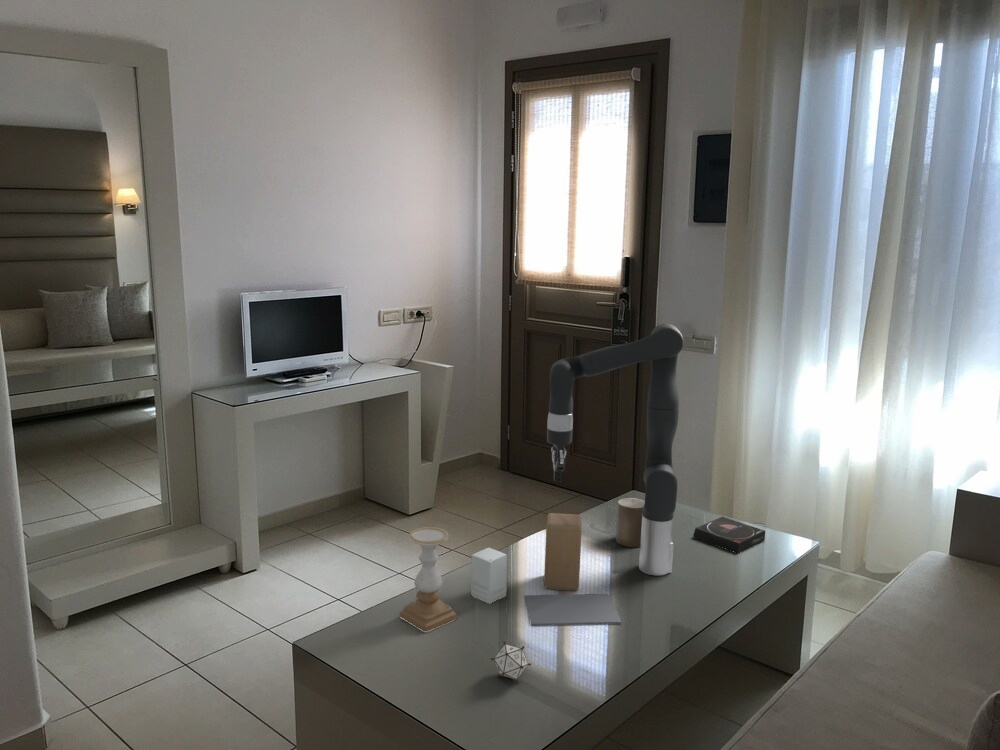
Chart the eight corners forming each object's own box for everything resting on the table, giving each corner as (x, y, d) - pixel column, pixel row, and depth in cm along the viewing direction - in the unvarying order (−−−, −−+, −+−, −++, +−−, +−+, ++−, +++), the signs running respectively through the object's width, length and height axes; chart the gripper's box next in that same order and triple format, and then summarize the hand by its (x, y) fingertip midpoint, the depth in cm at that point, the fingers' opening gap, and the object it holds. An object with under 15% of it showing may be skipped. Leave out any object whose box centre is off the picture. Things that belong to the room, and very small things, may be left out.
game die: (502, 688, 188) (488, 646, 192) (536, 676, 189) (522, 633, 192) (498, 691, 180) (484, 646, 183) (534, 678, 180) (519, 633, 183)
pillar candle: (647, 548, 260) (650, 504, 258) (617, 547, 260) (620, 503, 258) (642, 536, 270) (645, 494, 267) (613, 535, 270) (616, 493, 267)
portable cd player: (719, 526, 281) (720, 516, 280) (764, 542, 269) (765, 530, 268) (693, 538, 270) (693, 527, 269) (738, 555, 258) (739, 543, 257)
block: (578, 576, 239) (581, 513, 235) (578, 592, 229) (581, 526, 225) (545, 574, 240) (547, 511, 236) (543, 589, 230) (546, 524, 226)
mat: (607, 595, 228) (608, 593, 228) (621, 623, 212) (621, 621, 212) (524, 596, 225) (524, 595, 225) (531, 625, 210) (531, 623, 210)
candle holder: (430, 604, 220) (431, 522, 215) (457, 619, 212) (458, 535, 207) (398, 618, 212) (398, 533, 207) (425, 634, 205) (425, 546, 200)
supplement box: (507, 596, 226) (508, 554, 223) (488, 605, 220) (490, 562, 218) (488, 587, 231) (489, 546, 228) (470, 596, 225) (470, 554, 223)
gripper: (576, 433, 233) (573, 489, 237) (568, 421, 246) (566, 475, 249) (550, 433, 232) (548, 489, 236) (544, 421, 245) (542, 475, 249)
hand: (557, 482), depth 243 cm, fingers closed
